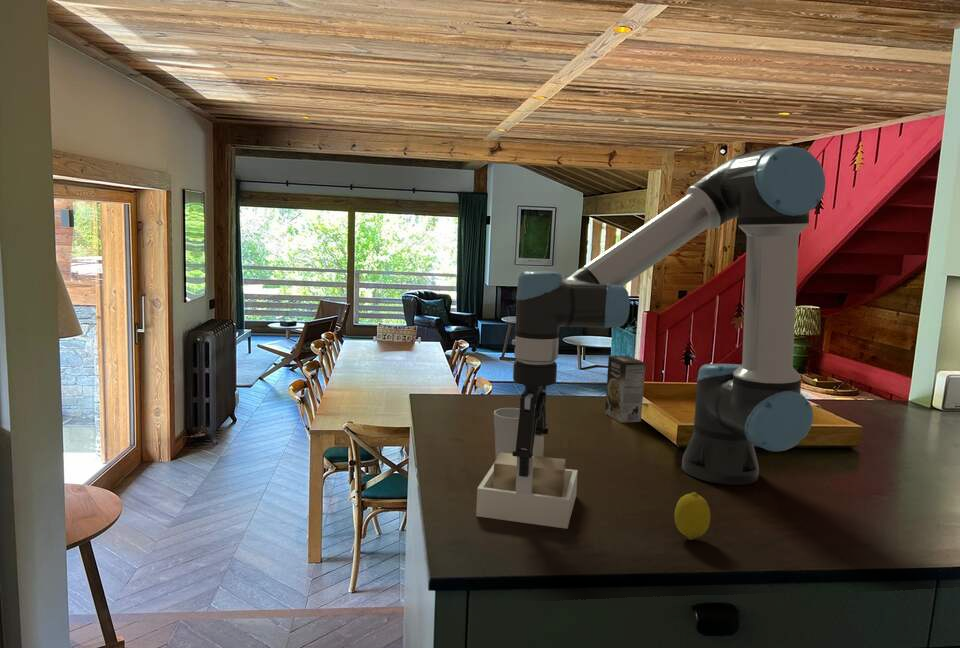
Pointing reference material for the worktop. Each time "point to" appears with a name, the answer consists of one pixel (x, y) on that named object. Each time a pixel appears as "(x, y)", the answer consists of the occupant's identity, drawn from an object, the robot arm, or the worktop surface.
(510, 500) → the white open box
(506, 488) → the beige rectangular block
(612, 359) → the coffee box
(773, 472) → the worktop surface
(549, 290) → the robot arm
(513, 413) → the cup
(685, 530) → the lemon
